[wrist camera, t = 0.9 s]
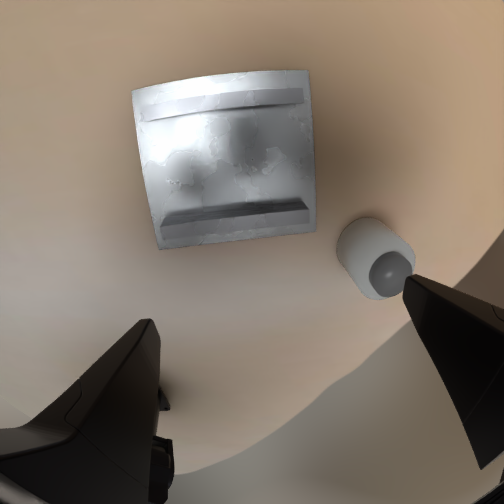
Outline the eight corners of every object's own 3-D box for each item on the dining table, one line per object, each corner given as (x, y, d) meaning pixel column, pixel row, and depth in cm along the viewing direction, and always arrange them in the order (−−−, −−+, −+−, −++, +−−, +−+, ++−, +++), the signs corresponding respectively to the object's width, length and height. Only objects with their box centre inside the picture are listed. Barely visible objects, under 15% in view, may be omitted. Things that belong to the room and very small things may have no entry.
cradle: (313, 228, 22) (323, 241, 20) (160, 246, 22) (153, 261, 20) (305, 71, 17) (316, 65, 15) (134, 91, 17) (122, 88, 14)
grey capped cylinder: (385, 266, 25) (415, 300, 20) (335, 274, 25) (358, 312, 20) (391, 215, 23) (427, 242, 18) (337, 220, 22) (366, 250, 17)
